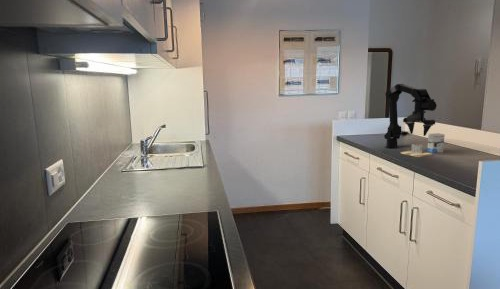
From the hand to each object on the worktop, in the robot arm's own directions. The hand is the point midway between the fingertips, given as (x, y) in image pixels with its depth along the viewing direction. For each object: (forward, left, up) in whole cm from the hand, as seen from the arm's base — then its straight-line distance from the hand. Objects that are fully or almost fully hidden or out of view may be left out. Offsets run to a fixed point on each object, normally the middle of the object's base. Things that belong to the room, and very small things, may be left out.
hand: (417, 134), depth 222 cm
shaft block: (0, 0, -12) cm, 12 cm away
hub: (0, 0, -11) cm, 11 cm away
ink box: (+2, +15, -13) cm, 20 cm away
